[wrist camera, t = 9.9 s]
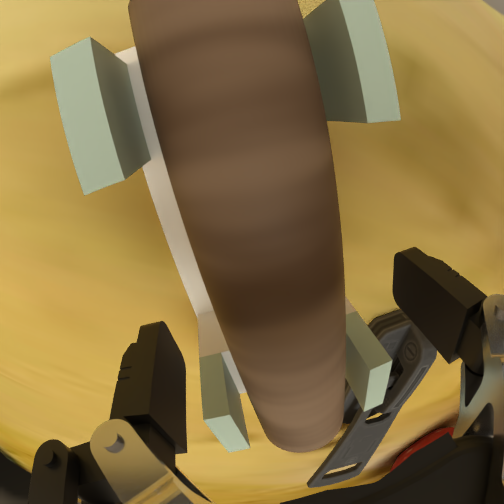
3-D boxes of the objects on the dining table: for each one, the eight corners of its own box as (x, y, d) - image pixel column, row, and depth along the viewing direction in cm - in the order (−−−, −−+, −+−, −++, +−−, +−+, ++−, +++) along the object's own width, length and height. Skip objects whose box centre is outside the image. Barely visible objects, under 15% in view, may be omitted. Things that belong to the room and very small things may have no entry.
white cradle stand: (119, 58, 12) (42, 5, 4) (279, 22, 12) (355, -52, 4) (221, 362, 22) (236, 463, 13) (329, 330, 22) (379, 418, 14)
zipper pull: (301, 491, 26) (410, 363, 16) (289, 452, 32) (368, 309, 22) (360, 476, 28) (474, 347, 18) (345, 441, 34) (434, 307, 24)
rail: (143, 34, 8) (109, -18, 3) (268, 9, 8) (312, -48, 4) (256, 398, 17) (272, 462, 12) (327, 376, 17) (355, 434, 13)
